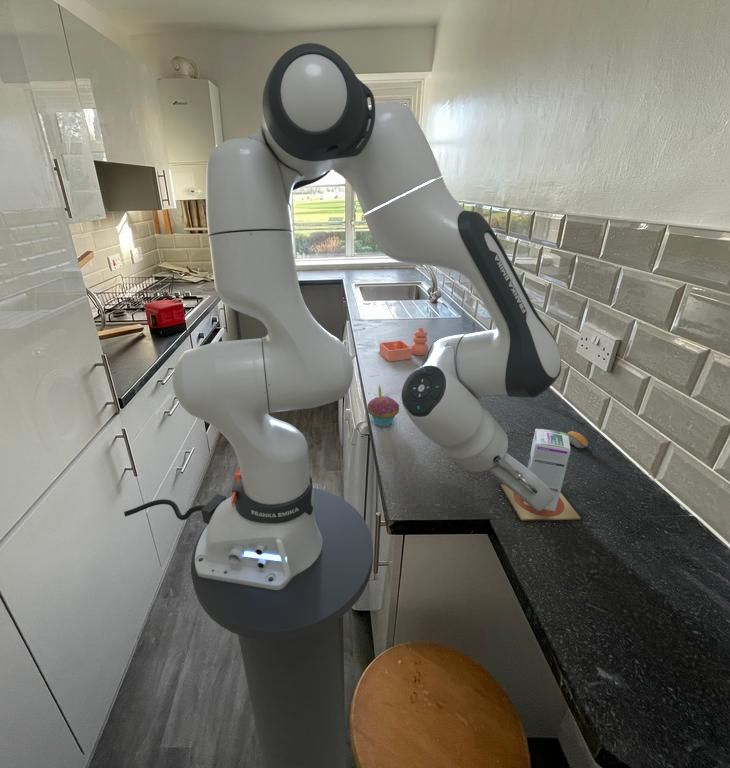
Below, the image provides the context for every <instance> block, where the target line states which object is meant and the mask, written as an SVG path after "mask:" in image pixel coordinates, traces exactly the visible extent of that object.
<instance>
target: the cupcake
mask: <svg viewBox="0 0 730 768" xmlns="http://www.w3.org/2000/svg"><path fill="white" fill-rule="evenodd" d="M377 390H378V396H377V397H375V398H372V399H371V400H369V402H368V403H367V412H368V414H369V415H370V416H371V417H372V419H373V420H372V421H373V423H374V424H375V425H376V426H378V427H382V428H383V427H384V428H385V427H389V426H390V425H391V424H392V423H393V420H394V419H395V416H396V415H398V414H399V413H400V405H399V403H398V402H397V401H396V400H395V399H393V398H391V397H390V396H384V395H382V387H381V385H380V384H379V385H378V389H377Z"/></svg>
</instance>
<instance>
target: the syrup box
mask: <svg viewBox="0 0 730 768" xmlns="http://www.w3.org/2000/svg"><path fill="white" fill-rule="evenodd" d="M567 433H568V432H563V431H558V430H553V429H545V428H535V429H534V434H533V438H532V443H531V449H530V453H529V458H528V463H527V467H526V468H528V469H529V470H530V471H531V472H532V473H534V474H535V475H536V476H537V477H538V478H539V479H540V480H541V481H542V482H543V483H544V484H545V485H546V486H547V487H548V488H549V489H550V490H551V491H552V492H553V493H554V498H553V500H552V501H551V502H550V503H549V504H548V505H547V506H546V507H545V508H544V510H549V511H553V512H555V510H556V507H557V503H558V499H559V496H560V492H561V491H562V488H563V483H564V480H565V474H566V471H567V467H568V463H569V458H570V455H571V452H572V451H571V450H572V449H571V443H570V442H569V437H568V434H567ZM561 493H562V492H561ZM523 504H525V505H528V504H527V503H526V502H525V501H524V500H523ZM528 506H529V505H528Z"/></svg>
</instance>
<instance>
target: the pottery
mask: <svg viewBox="0 0 730 768" xmlns="http://www.w3.org/2000/svg"><path fill="white" fill-rule="evenodd" d="M413 335H414V336H413V338H412V341H413V343H412V344H411V346H410V345H408V344H407V343H405V342H404V341H403V340H392V341H385V342H384V341H383V342H379V354H380V355H381V356H382V357H383V358H384V359H385V360H386V361H388V362H396V361H403V360H411V359H412V355H415V356H426V354H427V352H428V350H429V346H428V344H427V342H428V337H427V335H428V333H427V331H426V330H424V328H423V327H419V328H418V330H416V331H414V333H413Z"/></svg>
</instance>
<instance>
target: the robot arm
mask: <svg viewBox="0 0 730 768" xmlns="http://www.w3.org/2000/svg"><path fill="white" fill-rule="evenodd" d="M368 99H369V100H370V106H369V101H368ZM434 153H435V152H434V151H433V149H432V146H431V144H430V142H429V140H428V138H427V136H426V134H425V132H424V130H423V128H422V126H421V124H420V123H419V121H418V119H417V117H416V116H415V114H414V112H413V111H412V109H411V108H410V107H409V106H407V105H406V104H404V103H402V102H400V101H383V102H380V103H376V101H375V96H374V94H373V91H372V90H371V89H370V87H368V86H367V84H365V83H364V82H363V81H362V80H360V79H359V78H358V77H357V75H356V73H355V72H354V71H353V69H352V68H351V67H350V65H349V64H348V62H346V60H344V58H343V57H341V55H339V54H338V53H337V52H335V51H334V50H333V49H331V48H329V47H327V46H326V45H323V44H320V43H314V42H306V43H301V44H298V45H295V46H293V47H292V48H290V49H288V50H287V51H286V52H284V53H283V54H282V55H281V56H280V57H279V59H278V60H277V61H276V62H275V63H274V65H273V66H272V68H271V70H270V72H269V74H268V76H267V78H266V81H265V85H264V88H263V93H262V116H261V122H260V126H259V128H258V129H257V130H256V132H255V133H253V134H251V135H249V136H247V137H235V138H230V139H226V140H224V141H222V142H221V143H219V144H217V145H216V146H214V148H213V149H212V150H211V152H210V153H209V156H208V158H207V161H206V169H205V170H206V172H205V214H206V216H205V218H206V227H207V236H208V244H209V251H210V259H211V268H212V275H213V281H214V289H215V292H216V294H217V297H218V298H219V299H220V300H221V302H222V303H223V304H225V305H226V306H227V307H229V308H230V309H232V310H234V311H236V312H238V313H241V314H244V315H246V316H248V317H251V318H254V319H256V320H258V321H259V322H261V323H262V324H263V325H264V326H265V328H266V331H267V334H266V335H265V336H262V337H259V338H248V339H236V340H234V339H233V340H224V341H223V340H222V341H214V342H210V343H207V344H204V345H203V344H202V345H200V346H196V347H193V348H190V349H187V350H185V351H183V353H182V354H181V355H180V357H178V359H177V361H176V363H175V366H174V369H173V373H172V389H173V393H174V395H175V398H176V400H177V402H178V403H179V405H180V406H181V408H182V409H184V410H185V411H186V412H187V413H188V414H189V415H191V416H192V417H195V418H197V419H200V420H201V421H203V422H205V423H207V424H209V425H210V426H211V427H213V428H214V429H216V430H217V431H218V432H219V433H221V434H222V436H224V438H225V439H226V440H227V441H228V442H229V444H230V445H231V446H232V449H233V450H234V454H235V455H236V460H237V462H238V467H239V468H238V469H237V470H236V471H235V475H234V477H233V481H234V482H235V483H234V484H233V486H232V489H231V496H230V497H228V498H227V496H226V495H223V494H220V493H216V495H215V496H214V497H213V498H212V499H210V501H209V502H207V504H203V505H201V504H200V505H195V506H191V507H190V508H188V510H187V511H186V512H185V513H184V514H182V513H181V510H180V508H179V506H178V504H177V503H176V502H175V501H173V500H172V499H165V498H163V499H162V498H161V499H154V500H152V501H148V502H146V503H144V504H141V505H139V506H136V507H134V508H131V509H128V510H125V511H123V514H124V517H128V516H131V515H134V514H136V513H139V512H142V511H144V510H147V509H149V508H151V507H155V506H160V505H169V506H170V507H171V509H172V510H173V513H174V514H175V516H176V518H177V519H178V520H180V521H186V520H187V519H188V518H189V517H190V516H191V515H192V514H193V513H197V512H200V511H201V516H202V520H203V523H204V524H206V525H207V524H208V525H207V526H206V525H205V526H206V528H205V527H204V528H205V529H204V528H203V529H204V531H203V530H202V531H203V533H202V535H201V537H200V540H199V542H198V545H197V548H196V553H195V569H196V572H197V575H198V576H199V577H203V578H208V579H214V580H219V581H225V582H231V583H237V584H242V585H248V586H254V587H260V588H265V589H271V590H280V589H282V588H284V587H285V586H286V585H287V584H288V583H289V581H290V580H291V579H292V578H293V577H294V576H296V575H297V574H299V573H301V572H303V571H304V570H306V569H307V568H309V567H310V566H311V565H312V564H313V563H314V562H315V561H316V559H317V558H318V556H319V555H320V552H321V549H322V535H321V533H320V531H319V529H318V526H317V523H316V520H315V516H314V512H313V507H314V488H315V487H314V484H313V477H312V475H311V472H310V463H309V462H310V461H309V447H308V442H307V440H306V437H305V436H304V434H303V433H302V432H301V431H300V430H299V429H298V428H296V427H295V426H294V425H293V424H291V423H289V422H286V421H283V420H280V419H278V418H275V417H273V416H271V415H270V413H278V412H279V413H281V412H288V411H290V412H291V411H299V410H306V409H315V408H317V407H322V406H325V405H328V404H331V403H334V402H337V401H340V400H342V399H344V397H345V396H346V395H347V393H348V392H349V389H350V388H351V385H352V382H353V378H354V363H353V359H352V356H351V354H350V351H349V350H348V347H346V345H345V343H343V342H342V340H341V339H339V338H338V337H336V336H335V335H333V334H331V332H329V331H327V330H326V328H324V327H323V326H322V325H321V323H319V322H318V321H317V320H316V319H315V317H314V315H313V314H312V313H311V311H310V310H309V308H308V306H307V305H306V303H305V300H304V297H303V294H302V291H301V288H300V283H299V276H298V271H297V264H296V263H297V262H296V256H295V245H294V233H293V232H294V231H293V221H292V206H291V205H292V195H293V194H292V193H293V191H295V190H298V189H300V188H302V187H305V186H308V185H311V184H315V183H316V182H319V181H320V180H322V179H323V178H325V177H326V176H327V175H328V174H329V173H330V172H331V171H333V172H335V173H336V174H338V175H340V176H341V177H342V178H343V179H345V180H346V182H347V183H348V185H350V187H351V189H352V191H353V192H354V193H355V195H356V198H357V202H358V205H359V207H360V209H361V212H362V215H363V218H364V220H365V223H366V225H367V228H368V231H369V233H370V235H371V237H372V240H373V242H374V243H375V244H376V246H377V248H378V249H379V250H380V251H381V252H382V253H383V254H384V256H385V255H386V256H387V257H388V258H390V259H392V260H394V261H396V262H399V263H403V264H406V265H411V266H427V267H429V266H430V267H436V268H437V267H439V268H443V269H448V270H452V271H454V272H457V273H459V274H460V275H462V276H464V277H465V278H467V279H468V281H470V283H471V284H472V285H473V287H474V289H475V291H476V292H477V294H478V296H479V298H480V300H481V302H482V304H483V306H484V307H485V309H486V311H487V313H488V315H489V317H490V319H491V321H492V322H493V324H494V326H495V328H494V329H488V330H487V329H486V330H482V331H475V332H467V333H460V334H455V335H450V336H446V337H445V336H444V337H440V338H438V339H436V340H435V341H434V342H433V343H432V344H431V346H430V347H428V351H427V354H425V355H424V358H423V361H422V363H421V366H419V367H417V368H416V369H415V370H413V371H412V372H411V373H410V374H409V375H408V376H407V377H406V379H405V381H404V382H403V385H402V389H401V394H400V395H401V397H400V399H401V403H402V406H403V408H404V411H405V413H406V414H407V416H408V418H409V419H410V421H411V422H412V423H413V424H414V426H415V427H416V428H417V429H418V430H419V431H420V432H421V433H422V434H423V435H424V436H426V438H428V440H430V441H431V442H432V443H434V444H436V445H437V446H439V447H440V448H441V450H442V452H444V454H445V455H447V456H448V457H449V458H450V459H451V460H452V461H454V463H456V464H457V465H458V466H459V467H460V468H462V469H463V470H465V471H468V472H471V473H483V472H486V471H488V472H489V473H490V474H492V475H493V476H494V477H495V478H496V479H497V480H499V481H500V482H501V484H505V485H506V486H507V487H508V488H509V489H511V490H512V491H513V492H514V493H515V494H516V495H518V496H519V497H520V498H521V499H522V500H524V501H525V502H526V503H527V504H528V505H529V506H531V507H532V508H533V509H535V510H536V511H541V510H543V509H544V508H545V507H546V506H547V505H548V504H549V503H550V502H551V501H552V500H553V498H554V493H553V492H552V491H551V490H550V489H549V488H548V487H547V486H546V485H545V484H544V483H543V482H542V481H541V480H540V479H539V478H538V477H537V476H536V475H535V474H534V473H532V472H531V471H530V470H529V469H528V468H527V467H526V466H525V465H524V464H523V463H521V462H520V461H518V460H517V459H516V458H514V457H513V456H511V455H510V454H509V453H507V451H508V448H509V438H508V435H507V432H506V431H505V429H504V428H503V427H502V426H501V425H500V424H499V422H498V421H496V419H495V418H494V417H493V416H492V414H491V413H490V412H489V411H487V410H486V409H485V408H483V407H482V405H481V398H484V397H485V398H486V397H502V396H503V397H511V398H513V397H514V398H537V397H539V396H540V395H541V394H543V393H544V392H546V391H547V390H548V389H549V388H550V387H551V386H552V385H553V384H554V383H555V382H556V381H557V380H558V379H559V377H560V375H561V372H562V358H561V352H560V348H559V346H558V343H557V341H556V338H555V336H554V335H553V333H552V332H551V330H550V328H549V327H548V326H547V325H546V324H545V322H544V321H543V320H542V318H541V317H540V315H539V314H538V312H537V311H536V308H535V307H534V304H533V303H532V301H531V299H530V297H529V295H528V293H527V291H526V289H525V287H524V285H523V283H522V282H521V280H520V277H519V275H518V274H517V272H516V270H515V268H514V266H513V264H512V262H511V260H510V259H509V256H508V254H507V253H506V251H505V249H504V247H503V245H502V244H501V242H500V240H499V237H497V234H496V233H495V232H494V229H493V227H492V226H491V225H490V224H489V222H488V220H487V219H485V217H484V216H483V215H482V214H481V213H479V212H477V211H472V210H467V209H466V208H464V207H463V206H462V205H461V204H460V203H459V202H458V201H457V200H456V198H454V196H453V195H452V193H451V192H450V191H449V189H448V186H447V185H446V183H445V180H444V178H443V177H442V176H443V175H442V171H441V169H440V167H439V163H438V160H437V158H436V155H435V154H434ZM200 561H201V562H200ZM270 580H273V581H270Z"/></svg>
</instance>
